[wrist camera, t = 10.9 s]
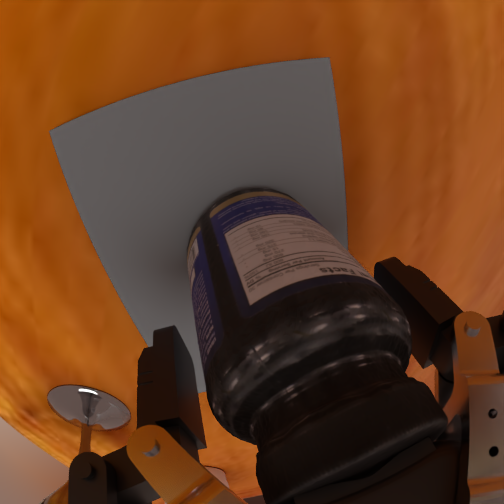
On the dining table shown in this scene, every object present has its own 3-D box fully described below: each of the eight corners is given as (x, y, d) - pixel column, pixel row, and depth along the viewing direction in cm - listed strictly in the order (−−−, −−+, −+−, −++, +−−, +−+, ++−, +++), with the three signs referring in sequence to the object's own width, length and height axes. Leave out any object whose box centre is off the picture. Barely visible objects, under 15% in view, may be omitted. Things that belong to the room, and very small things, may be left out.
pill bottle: (257, 313, 17) (335, 506, 8) (159, 264, 14) (179, 524, 5) (335, 229, 15) (487, 404, 6) (242, 155, 12) (436, 382, 3)
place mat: (54, 129, 10) (49, 131, 10) (323, 58, 11) (329, 57, 11) (181, 390, 20) (182, 396, 19) (343, 340, 21) (346, 346, 20)
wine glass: (96, 439, 22) (104, 583, 9) (27, 398, 17) (10, 563, 5) (156, 417, 21) (181, 592, 8) (78, 368, 17) (69, 589, 4)
